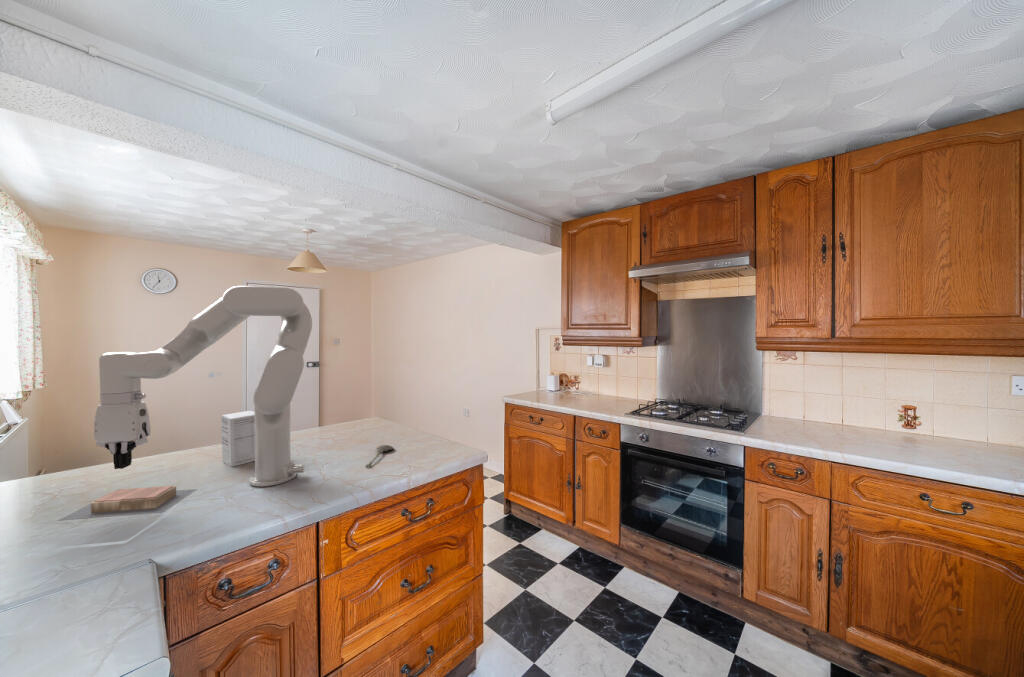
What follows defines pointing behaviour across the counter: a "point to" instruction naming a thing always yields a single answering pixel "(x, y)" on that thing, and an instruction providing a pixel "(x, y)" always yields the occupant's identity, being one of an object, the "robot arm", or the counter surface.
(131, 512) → the rubber mat
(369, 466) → the soupspoon
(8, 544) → the counter surface
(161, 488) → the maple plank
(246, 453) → the supplement box
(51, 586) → the counter surface
